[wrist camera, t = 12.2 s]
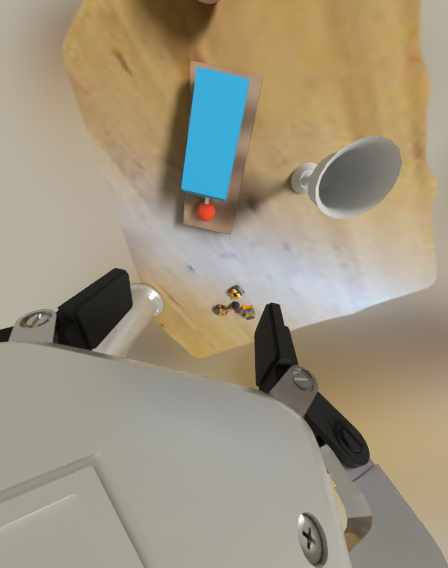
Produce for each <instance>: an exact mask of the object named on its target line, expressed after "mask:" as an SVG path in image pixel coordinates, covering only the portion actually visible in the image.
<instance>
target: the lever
mask: <svg viewBox="0 0 448 568" xmlns="http://www.w3.org/2000/svg"><path fill="white" fill-rule="evenodd" d="M248 86H249V79H247V78H243V77H239V76H235V75H230V74H226V73H222V72H218V71H213V70H209V69H205V68H201V67H197V70H196V78H195V86H194V93H193V101H192V109H191V116H190V124H189V132H188V140H187V147H186V155H185V163H184V171H183V178H182V186H181V189H182V190H183V191H185V192H186V193H190V194H194V195H198V196H202V197H205V202H202V203H201V204H200V205H199V206H198V209H197V214H198V217H199V218H200V219H201V220H203V221H211V220H212V219H213V218H214V216H215V208H214V206H213V205H212V204H211V203H209V201H210V198H211V199H215V200H220V201H224V202H226V198H227V193H228V188H229V183H230V178H231V174H232V169H233V164H234V159H235V154H236V149H237V144H238V139H239V134H240V130H241V125H242V120H243V115H244V110H245V105H246V100H247V95H248Z"/></svg>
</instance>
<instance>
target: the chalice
mask: <svg viewBox="0 0 448 568" xmlns="http://www.w3.org/2000/svg"><path fill="white" fill-rule="evenodd" d="M401 163H402V161H401V155H400V150H399V148H398V147H397V146H396V145H395V144H394V143H393V141H392V140H389V139H386V138H384V137H381V136H377V137H365V138H362V139H360V140H357V141H354V142H352V143H350V144H349V145H347V146H346V147H344V148H343V149H341V150H340V151H338V152H336V153H333V154H331V155H329V156H328V157H326V158H325V159H323V160H322V161H321V162H320V163H319V164H318V165H316V164H314V163H312V162H307V163H304V164H302V165H300V166H299V167H298V168H297V169H296V170H295V171H294V173H293V175H292V179H291V186H292V188H293V190H294V191H295V192H296V193H299V194H306V193H308V194H309V197H310V199H311V200H312V201H313V202H314V203H315V204H316V205H318V206H319V208H320V210H321V211H323V212H324V213H325V214H326V215H327V216H330V217H333V218H351V217H354V216H358V215H360V214H362V213H364V212H366V211H368V210H370V209H372V208H373V207H374V206H376V205H377V204H378V203H379V202H381V201H382V200H383V199H384V198H385V196H386V195H387V194H388V193H389V192H390V191H391V189H392V188H393V186H394V184H395V182H396V180H397V178H398V176H399V173H400V168H401Z"/></svg>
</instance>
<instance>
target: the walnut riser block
mask: <svg viewBox="0 0 448 568" xmlns="http://www.w3.org/2000/svg"><path fill="white" fill-rule="evenodd" d="M197 67H201V68H205V69H209V70H213V71H218V72H222V73H226V74H230V75H235V76H239V77H243V78H247V79H249V86H248V95H247V100H246V105H245V110H244V115H243V120H242V125H241V130H240V134H239V139H238V144H237V149H236V154H235V159H234V164H233V169H232V174H231V178H230V183H229V188H228V193H227V198H226V202H224V201H220V200H215V199H211V198H210V201H209V203H211V204H212V205H213V206H214V208H215V216H214V218H213V219H212V220H211V221H203V220H201V219H200V218H199V217H198V214H197V209H198V206H199V205H200V204H201V203H202V202H205V197H202V196H198V195H194V194H190V193H186V192H185V200H184V222H183V224H184V225H189V226H194V227H198V228H203V229H207V230H212V231H216V232H221V233H225V234H230V235H231V232H232V228H233V223H234V218H235V214H236V209H237V204H238V199H239V194H240V189H241V184H242V179H243V174H244V170H245V165H246V160H247V155H248V150H249V145H250V140H251V135H252V131H253V126H254V121H255V116H256V111H257V106H258V101H259V96H260V92H261V86H262V78H263V76H260V75H255V74H251V73H246V72H241V71H237V70H232V69H227V68H222V67H218V66H213V65H208V64H204V63H199V62H194V61H191V68H190V90H189V112H188V132H189V124H190V116H191V109H192V101H193V93H194V86H195V78H196V70H197ZM187 140H188V134H187Z"/></svg>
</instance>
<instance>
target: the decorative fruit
mask: <svg viewBox="0 0 448 568" xmlns="http://www.w3.org/2000/svg"><path fill="white" fill-rule="evenodd" d="M198 1H200V2H202V3H206V4H214V3H216V2H218V1H220V0H198Z"/></svg>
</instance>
